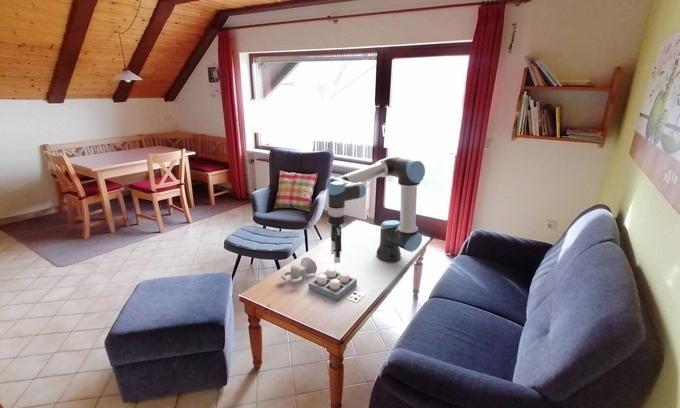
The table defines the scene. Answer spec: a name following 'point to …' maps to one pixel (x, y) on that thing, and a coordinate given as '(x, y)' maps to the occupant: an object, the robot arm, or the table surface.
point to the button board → (329, 293)
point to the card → (355, 296)
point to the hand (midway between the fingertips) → (335, 257)
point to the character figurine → (301, 270)
